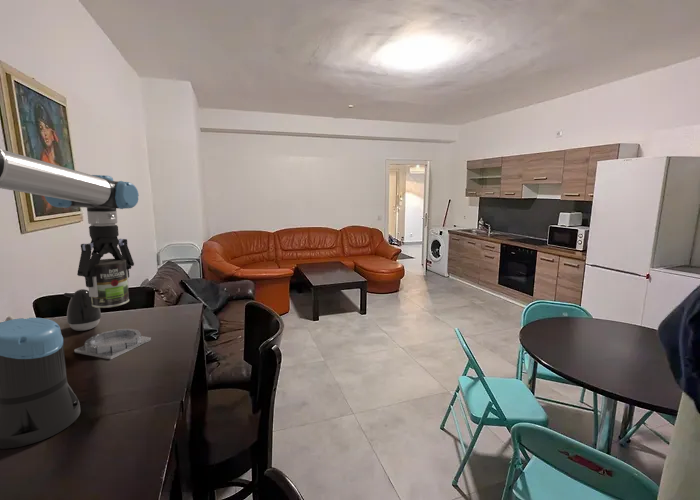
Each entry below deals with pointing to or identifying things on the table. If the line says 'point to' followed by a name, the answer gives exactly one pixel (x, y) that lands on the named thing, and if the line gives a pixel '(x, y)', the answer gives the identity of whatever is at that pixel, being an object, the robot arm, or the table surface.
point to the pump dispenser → (82, 311)
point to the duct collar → (112, 343)
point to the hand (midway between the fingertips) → (110, 291)
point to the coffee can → (111, 283)
